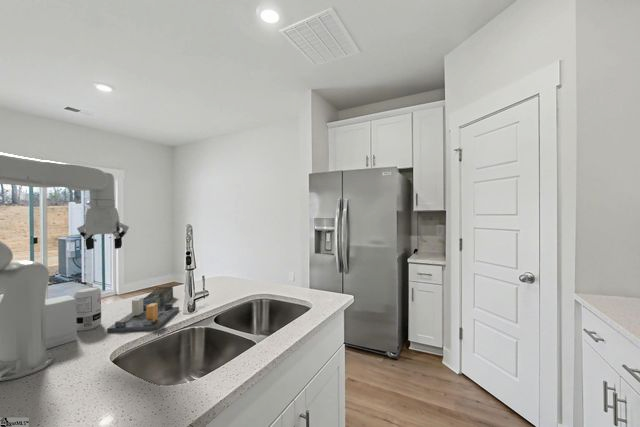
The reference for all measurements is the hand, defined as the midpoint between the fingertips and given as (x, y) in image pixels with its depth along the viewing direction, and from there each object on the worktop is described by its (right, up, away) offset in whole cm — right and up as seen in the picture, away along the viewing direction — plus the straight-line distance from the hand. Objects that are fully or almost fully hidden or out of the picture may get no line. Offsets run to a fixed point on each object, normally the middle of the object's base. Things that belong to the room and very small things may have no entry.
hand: (104, 248), depth 106 cm
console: (+11, -32, +9) cm, 34 cm away
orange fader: (+16, -30, +4) cm, 34 cm away
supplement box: (-9, -32, -9) cm, 35 cm away
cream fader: (+5, -30, +12) cm, 32 cm away
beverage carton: (+3, -32, +30) cm, 44 cm away
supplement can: (-9, -32, +3) cm, 33 cm away
